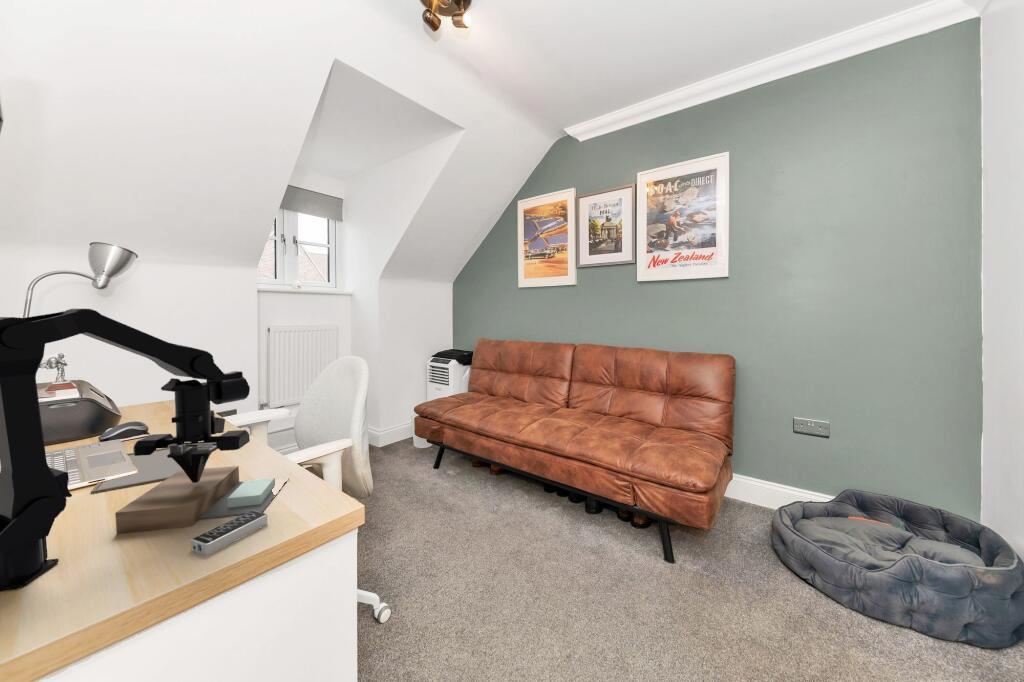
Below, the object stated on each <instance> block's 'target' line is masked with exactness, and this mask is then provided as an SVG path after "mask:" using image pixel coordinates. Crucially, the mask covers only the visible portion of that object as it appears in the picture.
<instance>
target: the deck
mask: <svg viewBox="0 0 1024 682" xmlns="http://www.w3.org/2000/svg"><path fill="white" fill-rule="evenodd" d="M239 469H240V468H239V465H232V466H222V467H206V468H205V467H204V470H203V473H202V475H201V478H200V481H199V482H197V483H192V481H191V480H190V479H189V477H188V476H187V475H186V473H185V472H184V470H180V471H178V472H177V473H175V474H174V475H172V476H171V477H169V478H168V479H166V480H164V481H160V482H159V484H157V485H155V486H154V487H152V488H151V489H149V490H148V491H146V492H145V493H143V494H142V495H140V496H138V497H137V498H135V499H133V501H131V502H129V503H128V504H126V505H125V506H123V507H122V508H119V510H117V511H116V512H115V513H114V514H115V515H114V516H115V525H116V526H115V528H116V529H115V530H116V535H119V534H128V533H129V534H130V533H136V532H137V533H139V532H145V531H146V532H147V531H155V530H156V531H157V530H166V529H175V528H176V529H177V528H185V527H186V528H187V527H194V525H195V524H196V523H198V522H199V521H200V520H201V519H200V517H201V516H202V515H203V514H204V513H205V512H206V511H207V510H209V509H210V508H211V507H212V506H213V505H214V504H215V503H216V502H217V501H218V500H219V499H220V498H221V497H223V496H224V495H225V494H226V493H227V492H228V491H229V490H230V489H231V488H232V487H233V486H234V485H235V484H237V483H238V482H240V470H239Z"/></svg>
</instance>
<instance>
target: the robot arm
mask: <svg viewBox="0 0 1024 682" xmlns="http://www.w3.org/2000/svg"><path fill="white" fill-rule="evenodd" d="M78 335H83V336H86V337H89V338H92V339H94V340H96V341H97V340H98V341H100V342H103V343H106V344H107V345H111V346H114V347H116V348H119V349H121V350H125V351H128V352H129V353H132V354H135V355H138V356H140V357H143V358H145V359H146V358H147V359H148V360H149V361H152V362H153V363H155V364H156V365H157V366H158V367H159V368H161V369H163V370H164V371H166V372H168V373H170V374H172V375H173V376H175V377H176V376H177V377H184V378H185V377H186V378H192V379H189V380H181V379H179V378H174V377H173V378H170V379H169V381H168V382H167V383H165V384H163V385H162V387H160V390H161V391H163V392H164V391H166V392H174V406H175V407H174V409H175V410H174V411H175V412H174V413H175V416H173V417H171V423H172V424H173V423H174V424H175V436H173V434H171V433H157V434H156V433H155V434H151V435H148V436H146V437H143V438H141V439H138V440H137V441H136V442H135V443H134V445H133V447H132V449H133V451H132V453H134V456H141V455H151V454H153V453H154V452H155V451H156V449H162V448H169V451H170V454H168V455H167V457H168V458H173V460H174V461H175V462H176V463H177V464H178V465H179V466H180V467H181V468H182V469H183V470H184V472H185V473H186V475H187V476H188V477H189V479H190V480H191V481H192V483H197V482H199V481H200V478H201V475H202V473H203V470H204V468H205V467H206V464H207V462H208V460H209V458H210V457H211V454H212V453H214V452H215V451H217V450H219V451H220V452H225V451H237V450H240V449H241V448H243V447H244V446H245V445H247V444H248V443H250V433H249V432H248V431H247V429H243V430H241V429H238V430H228V431H226V432H225V431H224V430H225V424H226V419H225V418H223V417H216V416H215V411H214V409H213V410H211V403H212V404H214V405H221V404H226V403H233V402H234V403H235V402H237V401H238V402H239V401H245V399H247V398H248V396H249V395H250V392H251V391H250V390H251V389H250V388H251V387H250V385H249V383H248V381H247V379H246V378H245V377H244V375H243V374H244V373H243V371H238V370H235V371H230V372H227V373H226V372H225V373H224V371H222V370H221V368H219V366H218V365H217V364H216V363H215V360H214V356H213V354H212V353H211V352H209V351H206V350H204V349H199V348H195V347H191V346H187V345H182V344H176V343H172V342H169V341H166V340H163V339H161V338H159V337H156V336H154V335H151V334H149V333H147V332H144V331H142V330H139V329H137V328H134V327H132V326H130V325H127V324H125V323H122V322H120V321H118V320H115V319H113V318H111V317H108V316H105V315H104V314H102V313H100V312H99V311H97V310H95V309H91V308H69V309H66V310H63V311H58V312H54V313H53V312H52V313H47V314H40V315H39V314H38V315H34V316H33V315H32V316H27V317H14V316H11V317H9V316H0V467H1V468H0V591H6V590H12V589H13V590H14V589H19V588H22V587H24V586H25V585H27V584H28V583H30V582H31V581H33V580H34V579H36V578H37V577H38V576H40V575H42V574H43V573H45V572H47V570H49V569H51V568H52V567H53V566H55V565H56V564H58V563H59V558H50V559H48V547H47V545H48V544H47V543H48V542H47V537H49V534H50V533H51V529H52V527H53V524H54V522H55V520H56V518H57V517H58V516H59V515H60V514H61V513H62V512H64V511H65V509H66V507H67V502H68V500H67V498H72V496H73V494H72V493H71V492H70V490H69V487H68V485H69V484H68V483H69V472H67V471H65V470H64V471H63V470H60V469H57V468H55V467H54V468H53V467H49V464H48V462H47V455H46V447H45V441H44V440H45V439H44V432H43V430H44V429H43V423H42V416H41V409H40V402H39V395H38V394H39V393H38V386H37V378H36V377H37V373H38V370H39V368H40V365H41V363H42V362H43V359H44V355H45V348H46V345H47V344H50V343H55V342H59V341H62V340H65V339H69V338H71V337H75V336H78ZM197 379H198V380H197ZM199 380H205V382H200V381H199ZM216 434H221V435H216Z"/></svg>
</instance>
